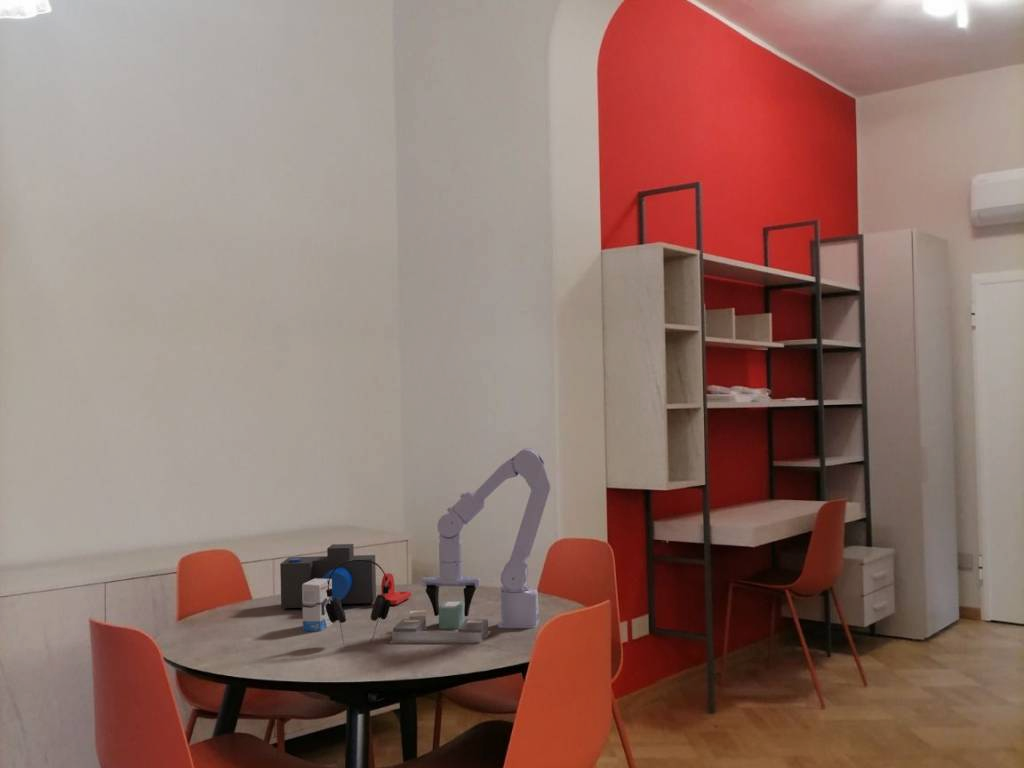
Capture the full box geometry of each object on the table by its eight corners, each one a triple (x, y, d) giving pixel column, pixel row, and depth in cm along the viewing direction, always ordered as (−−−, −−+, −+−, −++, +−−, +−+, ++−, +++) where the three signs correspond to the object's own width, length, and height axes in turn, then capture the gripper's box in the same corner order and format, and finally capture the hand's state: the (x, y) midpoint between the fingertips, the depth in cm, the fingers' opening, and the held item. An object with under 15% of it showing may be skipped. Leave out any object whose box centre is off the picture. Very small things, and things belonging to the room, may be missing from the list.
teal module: (464, 623, 240) (464, 601, 240) (459, 630, 232) (458, 607, 232) (445, 622, 240) (445, 600, 240) (439, 630, 232) (438, 607, 232)
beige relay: (426, 626, 237) (426, 610, 237) (426, 632, 231) (425, 615, 231) (410, 626, 237) (410, 610, 237) (409, 632, 231) (409, 616, 231)
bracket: (396, 604, 264) (395, 576, 264) (381, 603, 265) (381, 575, 265) (412, 595, 275) (411, 568, 275) (397, 595, 276) (397, 568, 277)
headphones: (390, 634, 229) (388, 552, 229) (392, 646, 217) (390, 560, 218) (327, 639, 226) (325, 555, 226) (325, 651, 215) (324, 563, 215)
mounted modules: (488, 632, 227) (487, 619, 227) (481, 642, 217) (481, 628, 217) (403, 631, 229) (403, 618, 230) (393, 641, 220) (393, 627, 220)
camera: (276, 612, 257) (275, 554, 257) (290, 599, 273) (289, 545, 273) (367, 610, 257) (366, 552, 257) (376, 597, 273) (374, 543, 273)
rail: (481, 642, 217) (481, 631, 217) (480, 643, 216) (480, 632, 216) (393, 641, 220) (393, 630, 220) (392, 642, 219) (391, 631, 219)
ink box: (320, 632, 233) (319, 584, 233) (301, 631, 234) (300, 584, 234) (333, 624, 241) (332, 578, 242) (315, 623, 242) (314, 578, 242)
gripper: (481, 558, 239) (482, 611, 239) (426, 558, 241) (427, 611, 241) (477, 563, 232) (477, 618, 232) (419, 562, 234) (420, 617, 234)
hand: (451, 615), depth 236 cm, fingers open, 7 cm apart
